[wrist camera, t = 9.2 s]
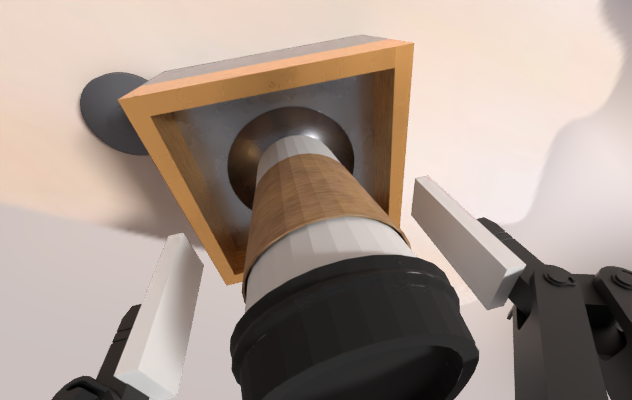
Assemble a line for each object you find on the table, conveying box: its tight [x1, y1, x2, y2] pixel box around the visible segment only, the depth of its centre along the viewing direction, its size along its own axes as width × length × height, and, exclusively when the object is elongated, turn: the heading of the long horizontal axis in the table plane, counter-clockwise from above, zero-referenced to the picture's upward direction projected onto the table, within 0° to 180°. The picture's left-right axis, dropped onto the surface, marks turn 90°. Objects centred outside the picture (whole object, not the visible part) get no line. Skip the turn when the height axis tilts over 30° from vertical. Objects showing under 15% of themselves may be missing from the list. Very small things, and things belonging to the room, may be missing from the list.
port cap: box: [80, 72, 150, 155], centre depth 19 cm, size 6×6×2 cm
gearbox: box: [118, 35, 414, 285], centre depth 20 cm, size 15×15×8 cm
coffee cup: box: [230, 135, 479, 400], centre depth 14 cm, size 8×8×15 cm
